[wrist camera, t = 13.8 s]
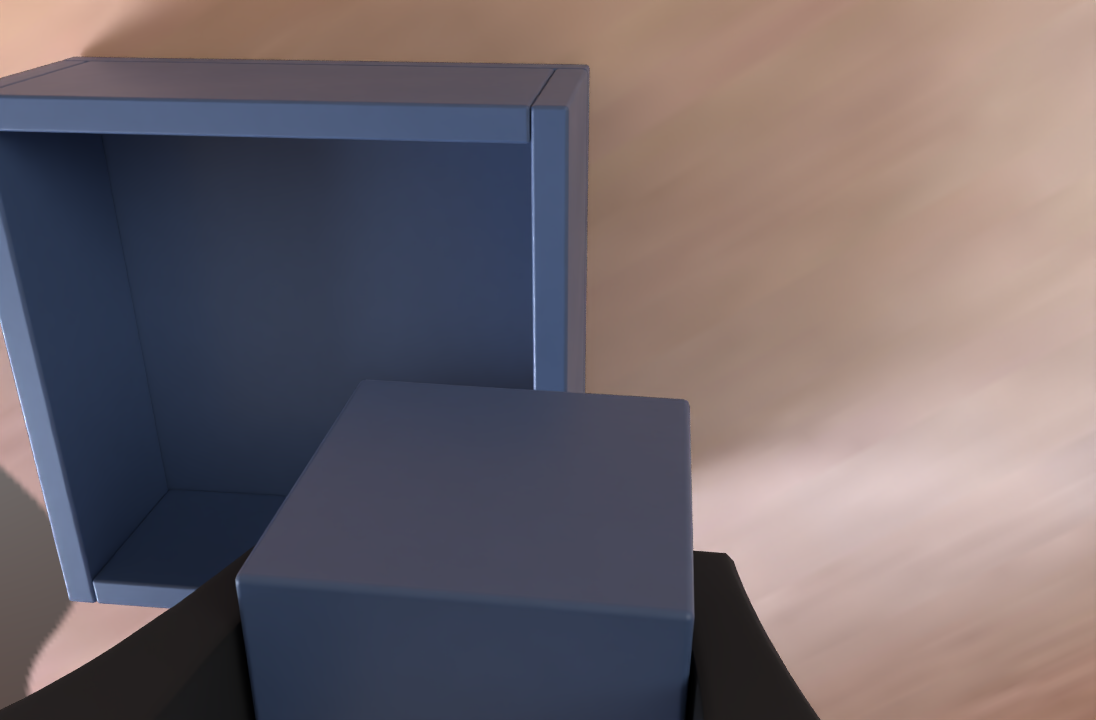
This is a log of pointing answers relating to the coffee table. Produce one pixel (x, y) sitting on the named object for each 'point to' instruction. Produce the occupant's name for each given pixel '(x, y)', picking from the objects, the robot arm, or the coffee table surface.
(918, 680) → the coffee table surface
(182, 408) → the slate bin
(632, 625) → the slate block
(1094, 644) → the coffee table surface
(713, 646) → the robot arm
